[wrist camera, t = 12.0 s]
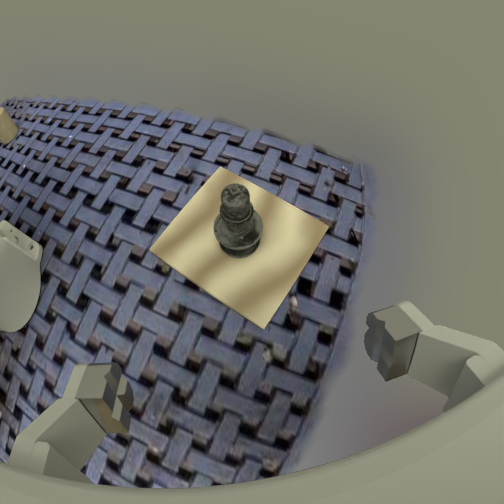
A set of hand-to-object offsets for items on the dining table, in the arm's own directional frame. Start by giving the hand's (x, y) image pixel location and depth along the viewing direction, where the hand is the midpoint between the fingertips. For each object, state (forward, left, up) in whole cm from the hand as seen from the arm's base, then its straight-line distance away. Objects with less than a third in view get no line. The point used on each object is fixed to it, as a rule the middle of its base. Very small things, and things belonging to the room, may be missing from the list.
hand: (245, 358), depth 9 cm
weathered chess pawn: (-10, +12, -25) cm, 30 cm away
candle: (-77, +4, -27) cm, 82 cm away
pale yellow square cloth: (-10, +12, -26) cm, 31 cm away
